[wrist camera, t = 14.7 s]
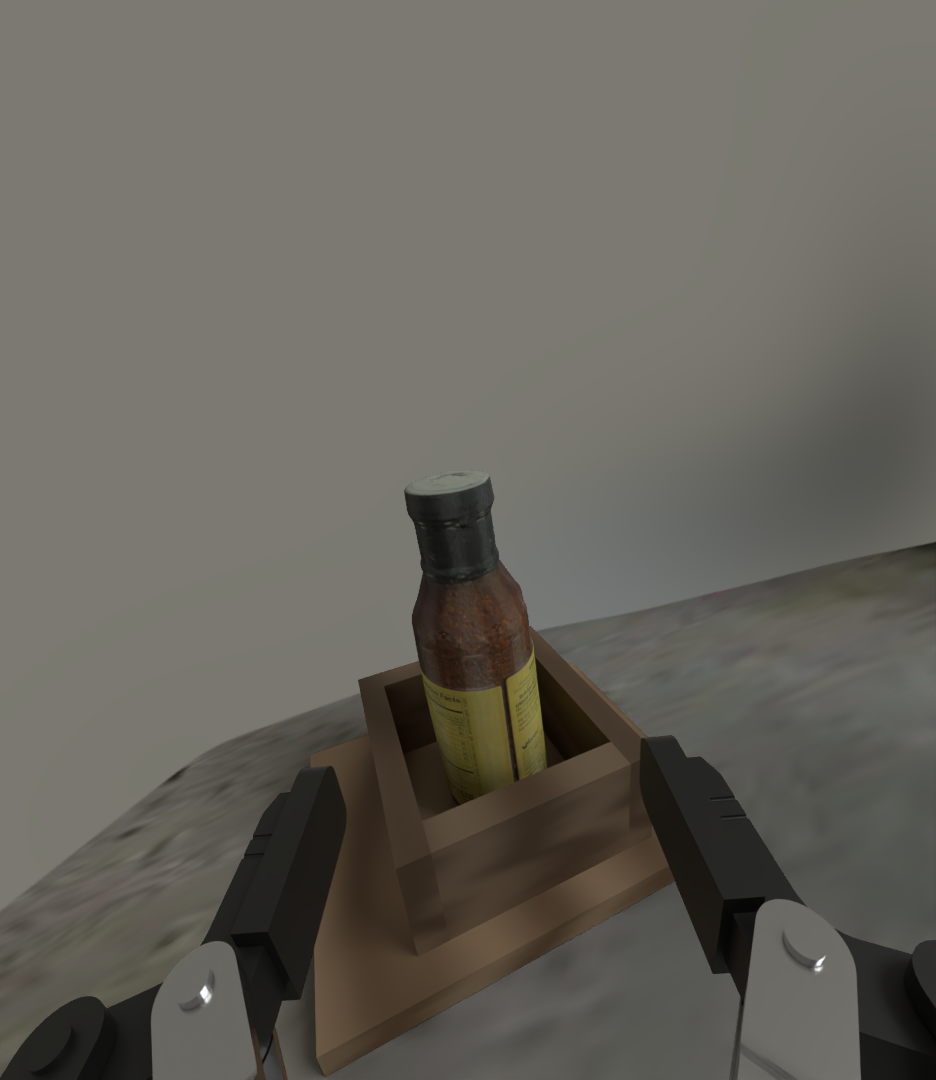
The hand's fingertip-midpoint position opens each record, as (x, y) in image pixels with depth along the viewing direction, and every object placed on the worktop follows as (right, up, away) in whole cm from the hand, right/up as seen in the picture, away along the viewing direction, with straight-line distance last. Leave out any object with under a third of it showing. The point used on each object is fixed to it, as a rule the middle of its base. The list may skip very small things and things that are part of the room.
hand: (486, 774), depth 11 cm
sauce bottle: (+1, -10, +16) cm, 18 cm away
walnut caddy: (+1, -11, +16) cm, 20 cm away
